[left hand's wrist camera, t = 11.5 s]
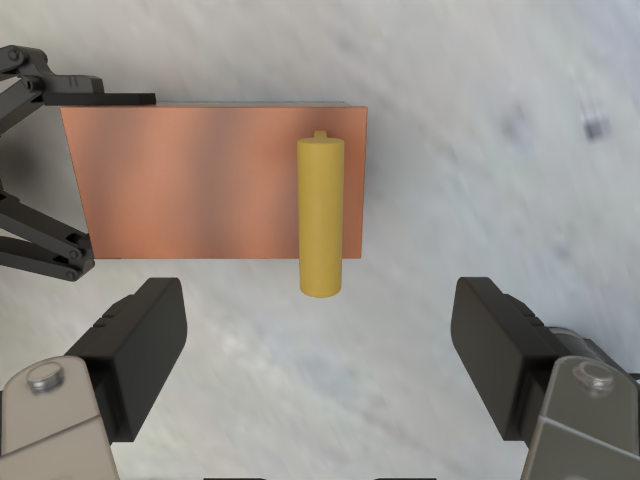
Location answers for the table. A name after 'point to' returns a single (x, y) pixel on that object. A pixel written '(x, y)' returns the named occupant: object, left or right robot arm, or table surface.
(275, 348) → the table surface
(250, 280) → the table surface
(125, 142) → the lid
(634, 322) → the table surface
